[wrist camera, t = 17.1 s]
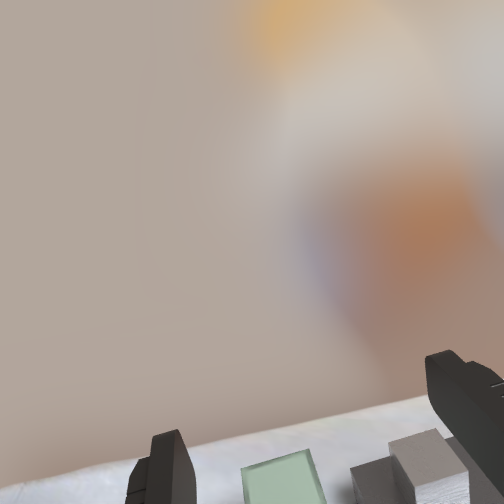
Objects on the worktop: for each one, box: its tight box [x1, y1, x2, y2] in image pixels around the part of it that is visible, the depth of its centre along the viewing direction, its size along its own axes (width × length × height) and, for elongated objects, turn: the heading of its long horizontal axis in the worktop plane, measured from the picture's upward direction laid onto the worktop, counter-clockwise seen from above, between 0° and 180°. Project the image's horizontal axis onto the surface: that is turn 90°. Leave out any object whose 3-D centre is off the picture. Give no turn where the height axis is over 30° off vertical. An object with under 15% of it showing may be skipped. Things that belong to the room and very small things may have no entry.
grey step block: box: [350, 428, 504, 504], centre depth 31 cm, size 10×8×8 cm
